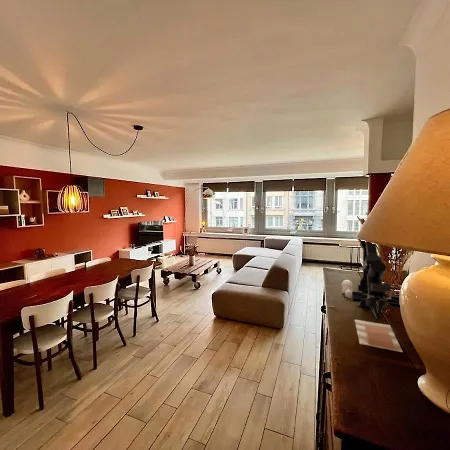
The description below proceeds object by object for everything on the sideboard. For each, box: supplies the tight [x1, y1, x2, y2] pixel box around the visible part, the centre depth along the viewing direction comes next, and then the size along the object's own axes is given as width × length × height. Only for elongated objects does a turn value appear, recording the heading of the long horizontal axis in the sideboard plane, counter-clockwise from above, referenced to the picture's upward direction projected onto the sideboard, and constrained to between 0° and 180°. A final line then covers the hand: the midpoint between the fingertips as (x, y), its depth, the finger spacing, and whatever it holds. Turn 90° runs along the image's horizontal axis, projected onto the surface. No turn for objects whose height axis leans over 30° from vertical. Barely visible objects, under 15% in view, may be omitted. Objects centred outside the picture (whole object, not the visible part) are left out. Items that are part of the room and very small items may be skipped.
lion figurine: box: [385, 288, 396, 298], centre depth 144 cm, size 15×5×9 cm, turn 64°
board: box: [354, 319, 403, 353], centre depth 104 cm, size 22×14×1 cm, turn 157°
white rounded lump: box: [341, 279, 354, 299], centre depth 149 cm, size 6×8×12 cm
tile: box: [365, 325, 393, 350], centre depth 100 cm, size 2×8×12 cm
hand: (377, 318), depth 101 cm, fingers closed
